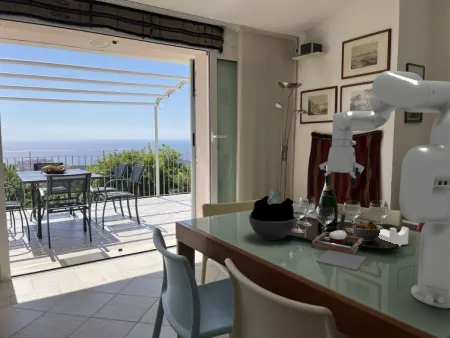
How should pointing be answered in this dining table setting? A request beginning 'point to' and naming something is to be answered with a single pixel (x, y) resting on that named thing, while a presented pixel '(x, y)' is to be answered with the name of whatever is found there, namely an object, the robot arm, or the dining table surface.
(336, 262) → the rubber mat
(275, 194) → the pale blue faceted lump
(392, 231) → the bracket
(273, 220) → the bowl of black rocks
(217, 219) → the dining table surface
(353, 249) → the tray
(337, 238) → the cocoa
